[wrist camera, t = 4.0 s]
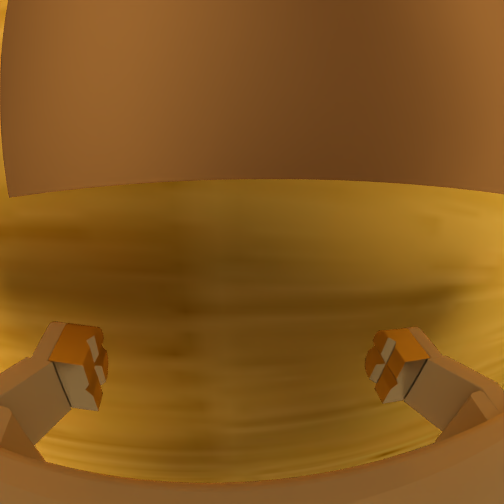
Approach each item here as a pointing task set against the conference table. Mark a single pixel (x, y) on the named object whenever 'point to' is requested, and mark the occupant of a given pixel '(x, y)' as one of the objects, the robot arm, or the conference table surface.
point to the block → (252, 92)
